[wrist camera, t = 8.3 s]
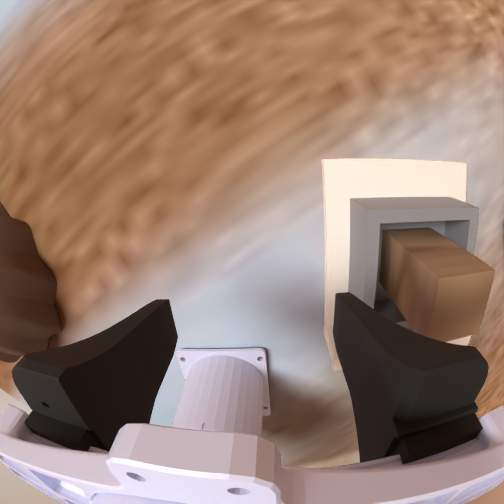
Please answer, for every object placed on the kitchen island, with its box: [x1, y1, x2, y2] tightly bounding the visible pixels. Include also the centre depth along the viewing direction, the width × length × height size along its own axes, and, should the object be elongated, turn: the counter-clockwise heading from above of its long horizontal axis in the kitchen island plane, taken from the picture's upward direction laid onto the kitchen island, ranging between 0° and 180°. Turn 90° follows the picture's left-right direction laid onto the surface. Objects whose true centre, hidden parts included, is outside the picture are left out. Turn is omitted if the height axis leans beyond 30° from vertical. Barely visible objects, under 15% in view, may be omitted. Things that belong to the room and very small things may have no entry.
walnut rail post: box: [379, 227, 495, 342], centre depth 16 cm, size 4×4×8 cm
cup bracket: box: [322, 158, 479, 371], centre depth 18 cm, size 14×12×5 cm
